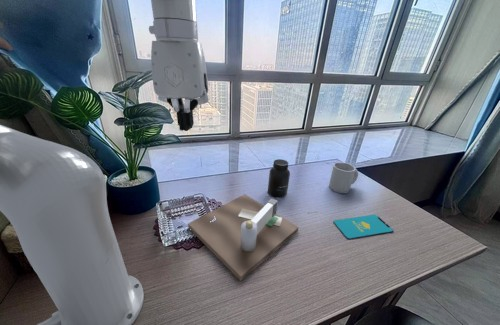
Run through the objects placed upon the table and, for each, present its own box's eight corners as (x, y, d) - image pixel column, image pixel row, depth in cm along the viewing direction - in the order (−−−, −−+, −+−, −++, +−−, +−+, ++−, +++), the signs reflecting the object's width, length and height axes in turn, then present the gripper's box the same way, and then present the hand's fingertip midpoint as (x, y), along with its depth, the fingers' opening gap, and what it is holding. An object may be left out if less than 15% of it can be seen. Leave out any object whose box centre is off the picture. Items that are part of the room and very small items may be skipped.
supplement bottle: (282, 201, 70) (286, 168, 65) (264, 194, 73) (266, 163, 68) (290, 191, 75) (294, 161, 70) (272, 185, 78) (275, 156, 73)
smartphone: (332, 220, 62) (375, 213, 65) (331, 222, 62) (374, 215, 65) (348, 239, 55) (395, 231, 59) (347, 241, 56) (394, 233, 59)
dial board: (240, 281, 44) (240, 275, 43) (188, 227, 57) (187, 222, 56) (297, 231, 58) (298, 226, 57) (244, 197, 71) (244, 193, 70)
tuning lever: (250, 254, 48) (251, 230, 45) (237, 247, 50) (238, 224, 47) (278, 219, 59) (280, 198, 56) (266, 214, 61) (268, 194, 58)
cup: (325, 183, 81) (329, 162, 77) (348, 181, 83) (353, 161, 79) (335, 194, 75) (341, 172, 71) (360, 192, 77) (367, 170, 73)
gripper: (126, 30, 37) (145, 131, 45) (208, 32, 35) (213, 137, 43) (151, 35, 44) (164, 122, 52) (221, 36, 42) (223, 127, 50)
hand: (186, 128), depth 47 cm, fingers closed
